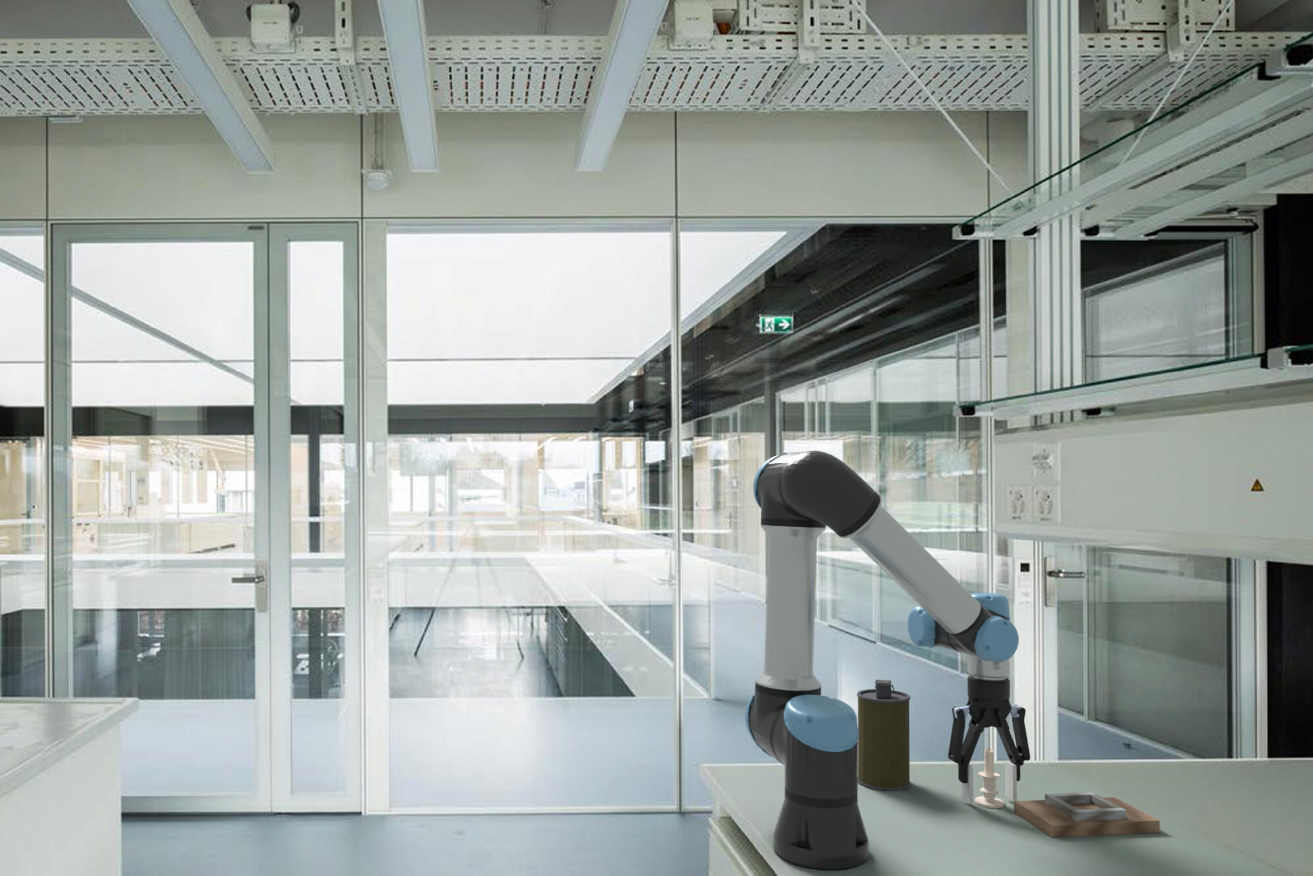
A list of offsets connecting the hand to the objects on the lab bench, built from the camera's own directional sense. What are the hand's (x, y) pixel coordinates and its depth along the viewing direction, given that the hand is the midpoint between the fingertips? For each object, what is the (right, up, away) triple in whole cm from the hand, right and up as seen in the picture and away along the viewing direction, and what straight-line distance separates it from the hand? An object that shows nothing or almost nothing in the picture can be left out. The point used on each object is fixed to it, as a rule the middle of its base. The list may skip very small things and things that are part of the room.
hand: (989, 799), depth 169 cm
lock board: (+13, 0, -9) cm, 16 cm away
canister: (-17, -1, +12) cm, 21 cm away
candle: (0, -1, 0) cm, 1 cm away
